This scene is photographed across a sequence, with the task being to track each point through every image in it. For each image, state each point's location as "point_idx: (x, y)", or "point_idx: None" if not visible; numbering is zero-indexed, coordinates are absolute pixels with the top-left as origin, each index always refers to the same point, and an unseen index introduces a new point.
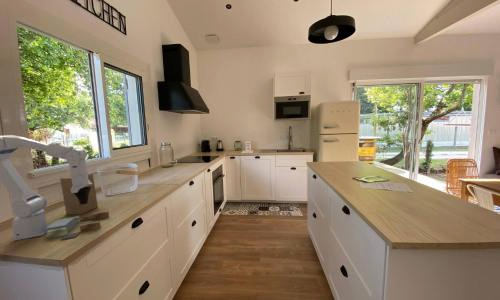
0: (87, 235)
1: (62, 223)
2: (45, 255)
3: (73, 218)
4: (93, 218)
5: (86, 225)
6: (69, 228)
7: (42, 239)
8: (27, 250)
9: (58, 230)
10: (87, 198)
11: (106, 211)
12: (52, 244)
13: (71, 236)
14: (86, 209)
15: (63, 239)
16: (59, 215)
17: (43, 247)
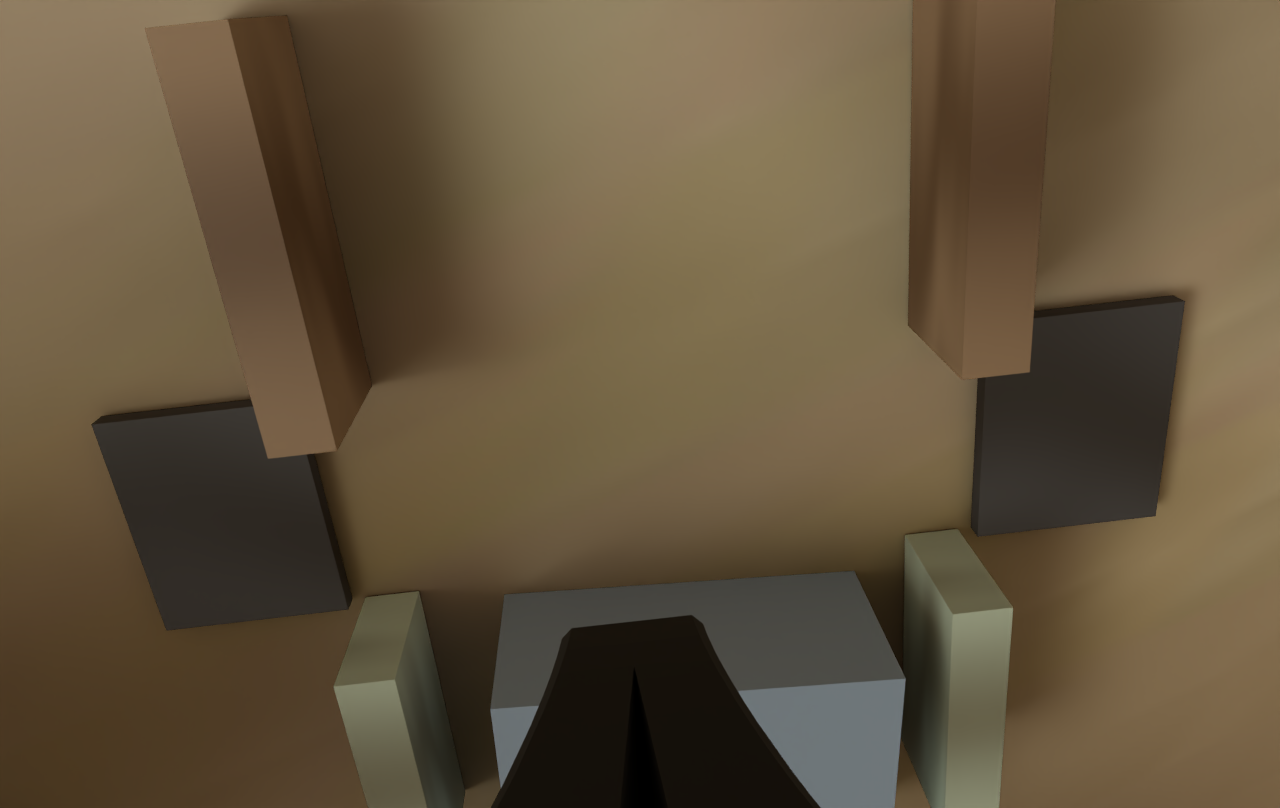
0: (1216, 90)
1: None
2: None
3: None
4: (351, 359)
5: (1024, 232)
6: (750, 601)
7: (923, 798)
8: (1214, 781)
9: (1000, 687)
10: (630, 745)
11: (190, 69)
12: (1225, 559)
13: (1129, 390)
14: None
15: (1152, 477)
16: None
17: (1254, 632)
